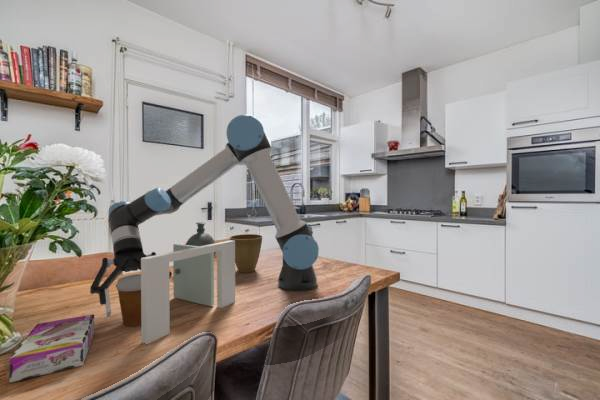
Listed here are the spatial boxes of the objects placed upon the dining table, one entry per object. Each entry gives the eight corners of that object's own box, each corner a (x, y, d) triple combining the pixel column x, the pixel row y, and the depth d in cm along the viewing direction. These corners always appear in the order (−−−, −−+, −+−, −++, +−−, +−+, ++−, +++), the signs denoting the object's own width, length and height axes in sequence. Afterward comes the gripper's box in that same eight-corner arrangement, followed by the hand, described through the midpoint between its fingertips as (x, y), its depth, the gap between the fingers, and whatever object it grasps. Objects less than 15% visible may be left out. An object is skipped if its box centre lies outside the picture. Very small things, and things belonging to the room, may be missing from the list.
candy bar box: (94, 312, 71) (84, 342, 56) (94, 331, 71) (84, 366, 57) (35, 322, 65) (7, 358, 51) (35, 343, 65) (8, 385, 51)
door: (215, 304, 88) (215, 247, 88) (209, 307, 86) (209, 249, 85) (178, 295, 96) (178, 243, 95) (171, 298, 93) (171, 244, 93)
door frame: (230, 300, 92) (230, 240, 92) (235, 301, 91) (235, 240, 91) (141, 342, 66) (140, 258, 65) (146, 344, 65) (146, 259, 64)
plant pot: (232, 267, 135) (231, 234, 135) (262, 266, 137) (262, 233, 136) (227, 275, 120) (227, 239, 120) (262, 274, 122) (262, 238, 122)
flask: (222, 267, 135) (222, 222, 134) (187, 274, 123) (187, 224, 123) (212, 263, 143) (211, 220, 143) (178, 269, 131) (177, 222, 131)
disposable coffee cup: (127, 333, 70) (126, 285, 70) (109, 323, 75) (108, 279, 75) (163, 319, 78) (162, 276, 78) (144, 311, 83) (144, 271, 83)
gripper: (167, 246, 96) (182, 302, 85) (75, 256, 80) (79, 327, 69) (172, 232, 92) (188, 289, 81) (76, 240, 76) (80, 313, 65)
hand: (138, 307), depth 75 cm, fingers open, 12 cm apart
